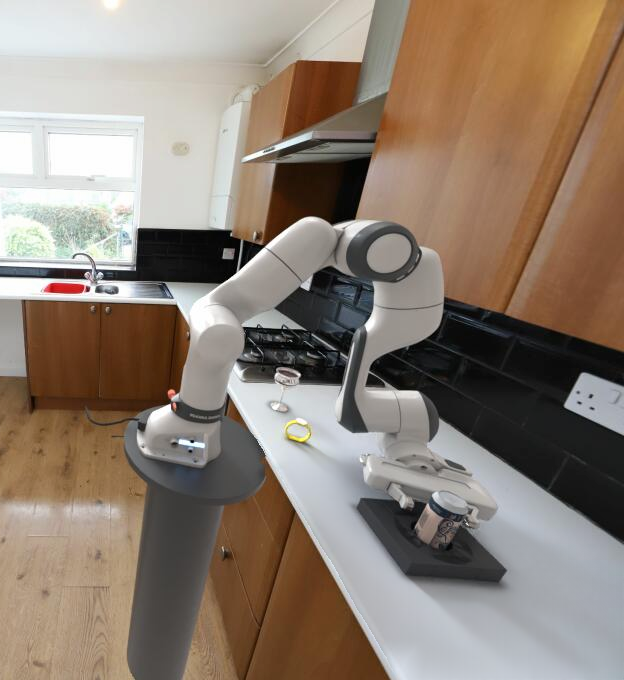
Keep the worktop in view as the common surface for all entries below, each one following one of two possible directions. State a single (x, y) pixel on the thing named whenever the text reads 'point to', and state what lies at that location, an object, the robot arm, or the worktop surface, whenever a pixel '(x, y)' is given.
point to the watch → (301, 423)
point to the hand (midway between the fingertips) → (439, 516)
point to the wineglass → (285, 384)
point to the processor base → (420, 558)
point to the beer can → (441, 519)
